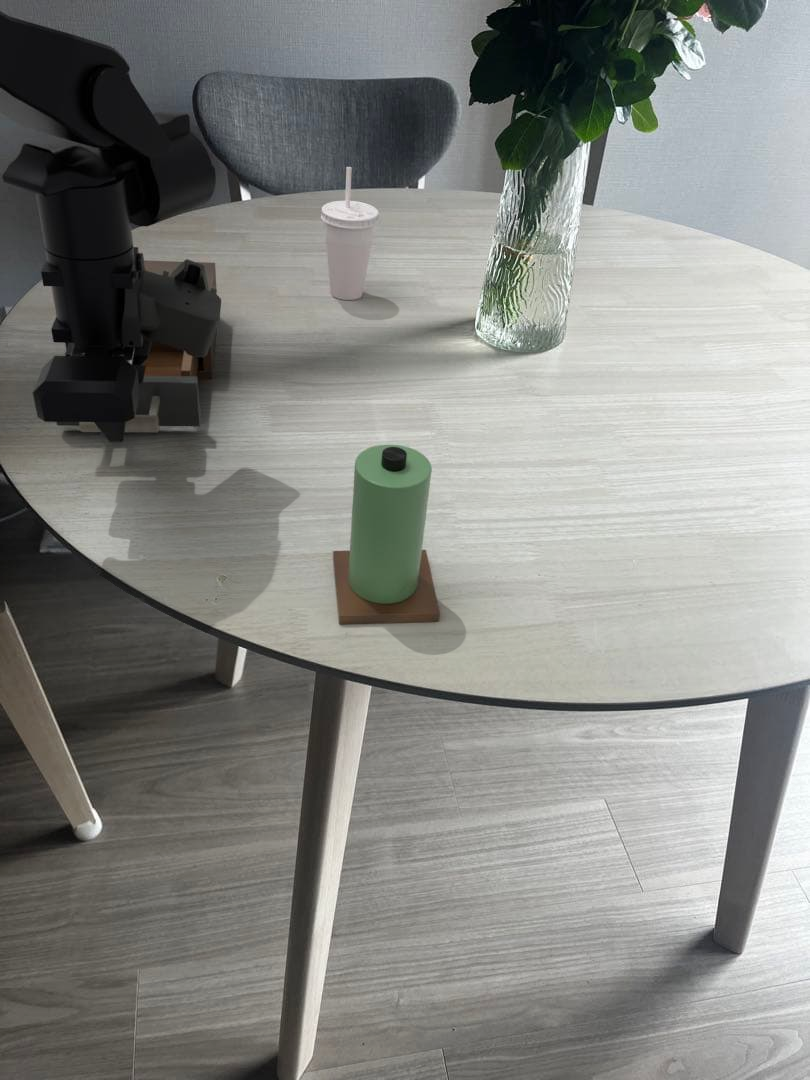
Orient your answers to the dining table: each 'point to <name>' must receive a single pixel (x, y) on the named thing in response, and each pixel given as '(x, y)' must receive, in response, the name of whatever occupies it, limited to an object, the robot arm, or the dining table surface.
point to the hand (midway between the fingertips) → (116, 439)
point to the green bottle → (388, 522)
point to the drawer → (162, 392)
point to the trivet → (362, 611)
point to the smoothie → (348, 243)
